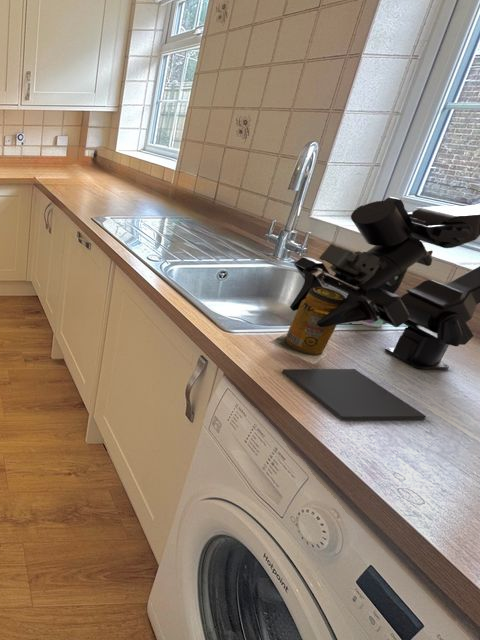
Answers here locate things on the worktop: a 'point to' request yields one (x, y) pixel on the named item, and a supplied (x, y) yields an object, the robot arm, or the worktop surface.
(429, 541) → the worktop surface
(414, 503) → the worktop surface
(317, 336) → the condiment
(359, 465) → the worktop surface
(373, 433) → the worktop surface
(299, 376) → the mat
